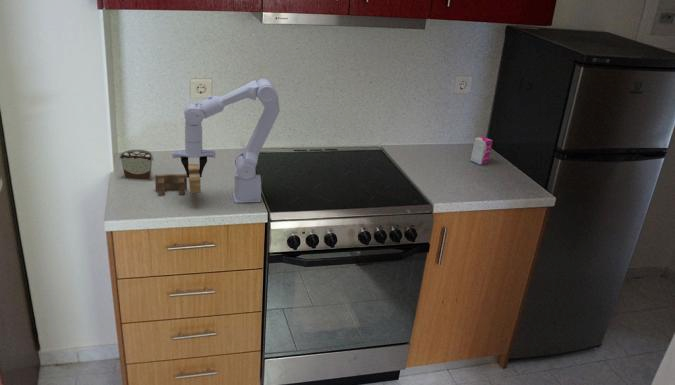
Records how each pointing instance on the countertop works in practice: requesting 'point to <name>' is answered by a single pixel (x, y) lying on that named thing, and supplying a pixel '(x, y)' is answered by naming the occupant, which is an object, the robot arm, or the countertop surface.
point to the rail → (194, 178)
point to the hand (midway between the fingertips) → (194, 176)
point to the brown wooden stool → (171, 183)
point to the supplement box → (481, 150)
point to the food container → (137, 164)
